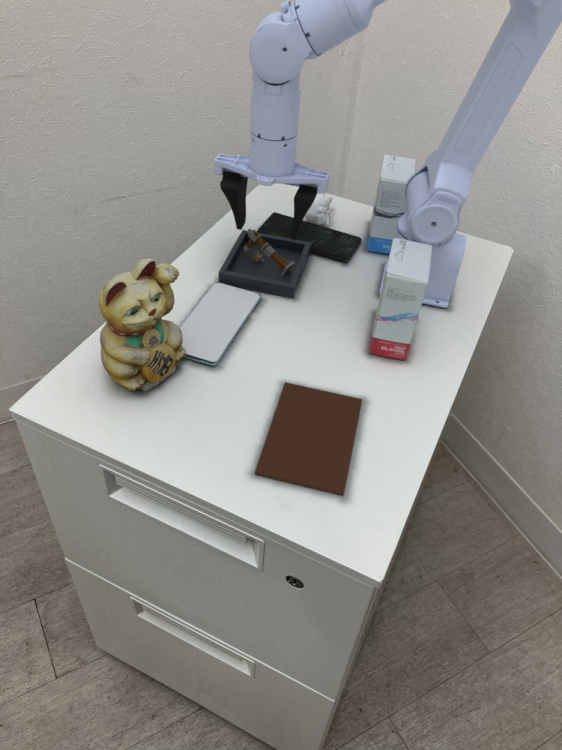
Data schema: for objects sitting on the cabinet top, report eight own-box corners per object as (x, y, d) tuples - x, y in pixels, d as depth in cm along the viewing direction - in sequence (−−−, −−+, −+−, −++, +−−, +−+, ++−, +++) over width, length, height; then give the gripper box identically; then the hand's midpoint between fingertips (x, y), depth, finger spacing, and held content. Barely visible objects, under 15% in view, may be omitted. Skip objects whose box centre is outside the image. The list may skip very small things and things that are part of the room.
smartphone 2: (348, 259, 84) (255, 230, 87) (347, 264, 85) (255, 236, 88) (362, 237, 89) (273, 210, 92) (361, 242, 89) (273, 216, 93)
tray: (310, 253, 86) (311, 242, 85) (293, 298, 78) (294, 287, 77) (242, 240, 88) (242, 229, 86) (218, 283, 80) (218, 272, 78)
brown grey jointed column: (243, 243, 84) (254, 223, 81) (282, 280, 84) (295, 261, 81) (235, 249, 83) (246, 228, 80) (275, 286, 83) (288, 267, 79)
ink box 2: (406, 362, 71) (429, 283, 62) (366, 353, 71) (385, 275, 63) (412, 319, 77) (434, 243, 68) (375, 312, 77) (393, 235, 69)
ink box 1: (397, 256, 87) (415, 183, 79) (365, 251, 88) (379, 178, 79) (400, 228, 93) (417, 157, 85) (370, 223, 94) (384, 152, 85)
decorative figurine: (139, 410, 62) (121, 300, 52) (85, 378, 65) (57, 267, 55) (196, 361, 68) (190, 253, 58) (144, 333, 71) (129, 226, 61)
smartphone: (162, 348, 69) (215, 280, 79) (162, 351, 69) (215, 284, 79) (215, 364, 67) (262, 294, 77) (215, 368, 68) (262, 297, 78)
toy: (332, 190, 95) (308, 188, 95) (333, 192, 88) (306, 189, 88) (328, 225, 97) (304, 223, 97) (328, 230, 90) (302, 227, 90)
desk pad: (361, 401, 65) (362, 398, 65) (343, 495, 56) (343, 493, 56) (284, 385, 67) (285, 382, 66) (254, 474, 57) (254, 471, 57)
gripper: (205, 134, 67) (207, 236, 77) (326, 154, 65) (314, 256, 75) (223, 112, 72) (223, 210, 82) (337, 131, 70) (324, 229, 80)
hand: (267, 231), depth 79 cm, fingers open, 7 cm apart
